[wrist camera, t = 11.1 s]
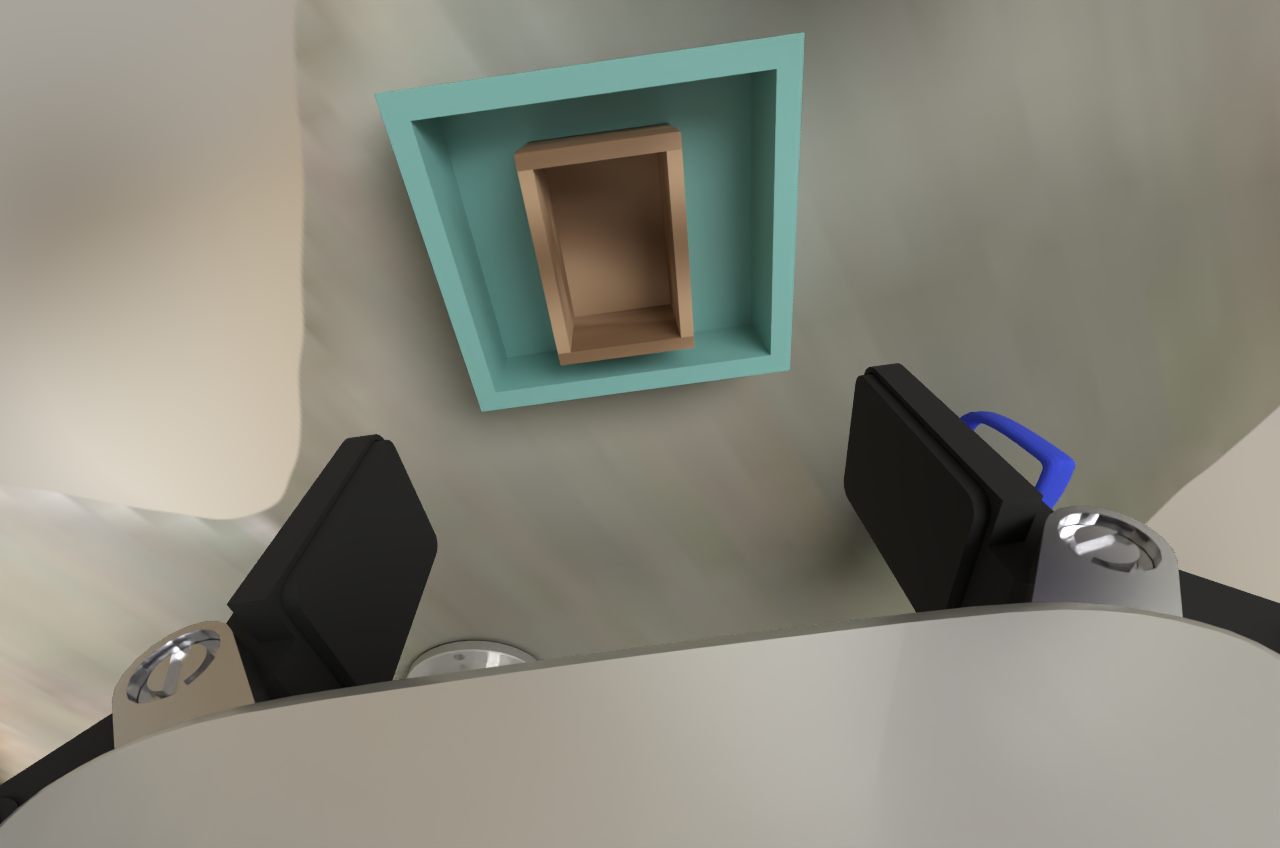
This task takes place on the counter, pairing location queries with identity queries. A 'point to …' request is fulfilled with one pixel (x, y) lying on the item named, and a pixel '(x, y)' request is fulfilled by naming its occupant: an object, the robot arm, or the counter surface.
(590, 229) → the walnut crate
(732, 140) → the teal crate
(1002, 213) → the counter surface
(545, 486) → the counter surface
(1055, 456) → the mug
